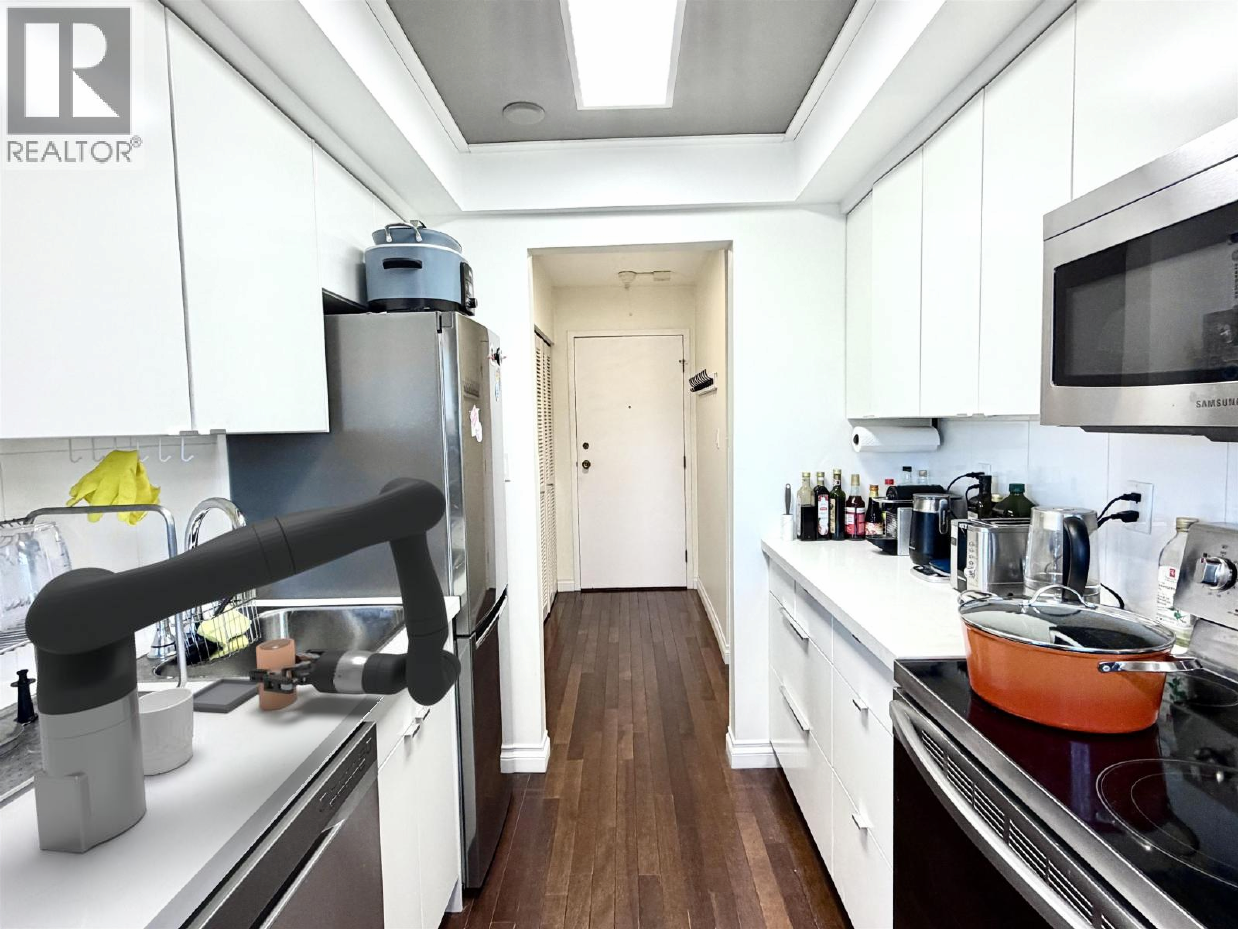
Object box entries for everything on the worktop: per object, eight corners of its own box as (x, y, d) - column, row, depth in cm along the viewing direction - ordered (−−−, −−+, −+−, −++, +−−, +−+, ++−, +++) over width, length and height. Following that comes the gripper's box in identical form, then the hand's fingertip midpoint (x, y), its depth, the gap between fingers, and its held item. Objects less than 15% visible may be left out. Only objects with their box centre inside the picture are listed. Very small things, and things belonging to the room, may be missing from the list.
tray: (227, 713, 100) (226, 704, 100) (179, 710, 101) (178, 701, 101) (267, 688, 109) (266, 680, 109) (222, 685, 111) (222, 677, 110)
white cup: (139, 785, 80) (134, 718, 79) (124, 765, 85) (120, 702, 84) (204, 759, 86) (200, 697, 86) (187, 741, 91) (184, 682, 90)
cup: (281, 711, 101) (278, 651, 100) (251, 709, 101) (248, 650, 101) (304, 695, 107) (301, 638, 106) (275, 693, 107) (272, 637, 106)
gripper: (370, 636, 109) (290, 633, 111) (322, 669, 94) (232, 664, 96) (371, 674, 109) (292, 669, 111) (324, 712, 95) (234, 706, 97)
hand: (264, 667), depth 104 cm, fingers closed on cup, 6 cm apart
